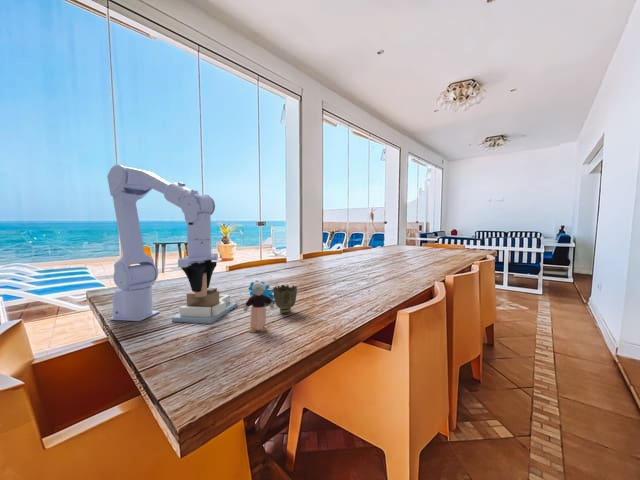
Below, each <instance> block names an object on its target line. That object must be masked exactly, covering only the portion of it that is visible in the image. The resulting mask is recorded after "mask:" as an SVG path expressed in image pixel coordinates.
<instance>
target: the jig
mask: <svg viewBox="0 0 640 480" xmlns="http://www.w3.org/2000/svg"><path fill="white" fill-rule="evenodd" d="M236 306H237V307H238V302H233V301H231V295H230V294H219V304H217V305H215V306H213V307H212V315H211V307H194V306H187V305H181V306H180V307H179V313H178V314H175V315H174V316H172V317H171V322H174V323H175V322H177V323H193V324H194V323H195V324H213V323H214V322H216V321H217V320H219V319H221V318H222V317H223V316H225V315H226V314H227V313H230V312H231V311H232V310H233V308H234V309H235V308H237V307H236ZM230 310H231V311H230Z"/></svg>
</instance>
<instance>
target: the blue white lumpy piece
mask: <svg viewBox="0 0 640 480" xmlns="http://www.w3.org/2000/svg"><path fill="white" fill-rule="evenodd" d="M255 282H261V283H262V284H264V286H265V290H264V292H263V294H262V295H265V296H267V297H269V298H270V299H271V300H272V303H274V292H273V289H274V288H271V289H270V285H269V284H267V285H265V282H264V281H259V280H255V281H252V282H251V283H250V284H249V285H250V286H249V287H248V290H249V296H250V297H251V296H253V295H255V294H254V291H253V289H252V287H253V284H254V283H255ZM265 306H269V304H266V303H265Z"/></svg>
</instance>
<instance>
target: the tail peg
mask: <svg viewBox="0 0 640 480" xmlns="http://www.w3.org/2000/svg"><path fill="white" fill-rule="evenodd" d="M204 296H207V273H203V278H202V289H201V291H200V292H195V297H204Z"/></svg>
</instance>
